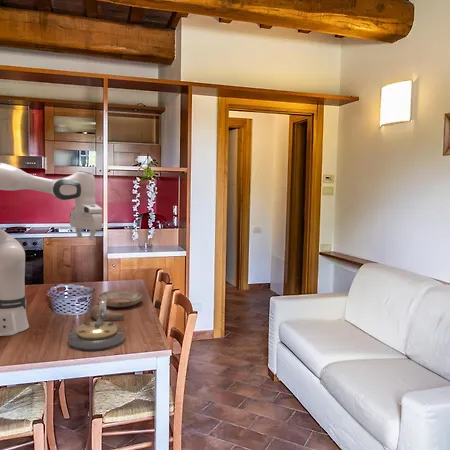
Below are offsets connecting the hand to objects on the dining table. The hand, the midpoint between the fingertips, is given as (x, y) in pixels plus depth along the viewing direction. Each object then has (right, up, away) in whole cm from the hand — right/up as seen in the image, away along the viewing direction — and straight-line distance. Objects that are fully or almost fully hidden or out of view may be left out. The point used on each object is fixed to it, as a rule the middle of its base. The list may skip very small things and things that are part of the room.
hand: (85, 238), depth 195 cm
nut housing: (+10, -42, -16) cm, 46 cm away
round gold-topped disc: (+10, -38, -13) cm, 42 cm away
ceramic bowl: (+7, -37, +37) cm, 53 cm away
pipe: (+6, -39, +13) cm, 42 cm away
